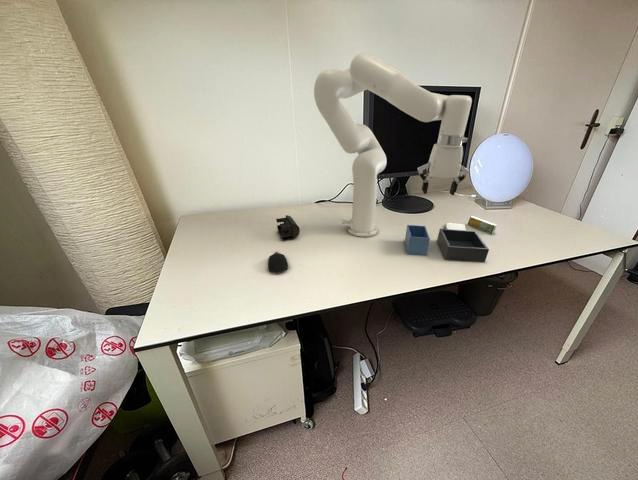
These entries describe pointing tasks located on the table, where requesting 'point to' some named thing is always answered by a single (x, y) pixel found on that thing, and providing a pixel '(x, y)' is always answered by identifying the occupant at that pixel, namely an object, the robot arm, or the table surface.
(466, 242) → the box
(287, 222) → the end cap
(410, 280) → the table surface
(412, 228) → the blue bin
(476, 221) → the medication box
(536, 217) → the table surface
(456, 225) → the hard drive
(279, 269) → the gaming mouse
